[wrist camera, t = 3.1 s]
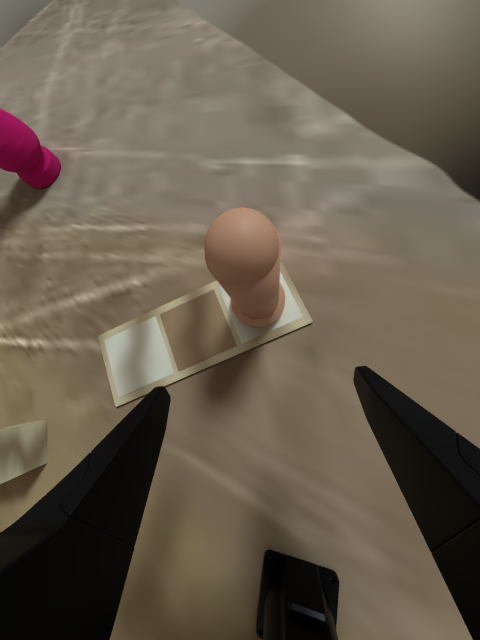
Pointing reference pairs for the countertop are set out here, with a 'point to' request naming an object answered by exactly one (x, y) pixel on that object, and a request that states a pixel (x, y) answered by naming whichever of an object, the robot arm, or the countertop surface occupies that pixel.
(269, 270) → the tan knob handle
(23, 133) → the pepper mill
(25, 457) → the die
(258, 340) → the board
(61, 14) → the countertop surface
